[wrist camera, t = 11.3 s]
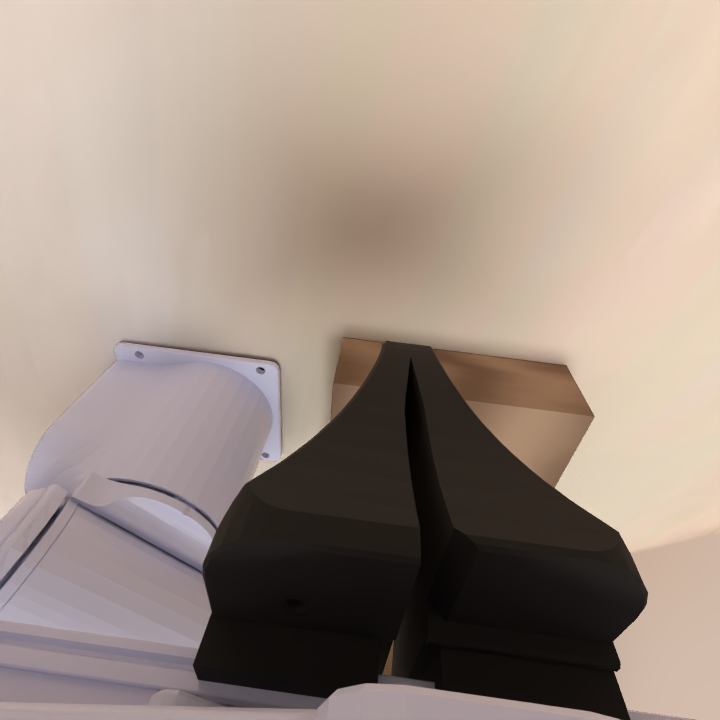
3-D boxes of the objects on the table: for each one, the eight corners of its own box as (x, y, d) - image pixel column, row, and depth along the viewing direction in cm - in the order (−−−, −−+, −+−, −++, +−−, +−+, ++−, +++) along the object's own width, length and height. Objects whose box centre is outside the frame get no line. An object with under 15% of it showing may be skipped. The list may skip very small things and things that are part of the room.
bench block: (332, 476, 29) (323, 528, 26) (343, 337, 22) (333, 382, 19) (503, 499, 29) (516, 554, 25) (566, 365, 22) (594, 416, 19)
